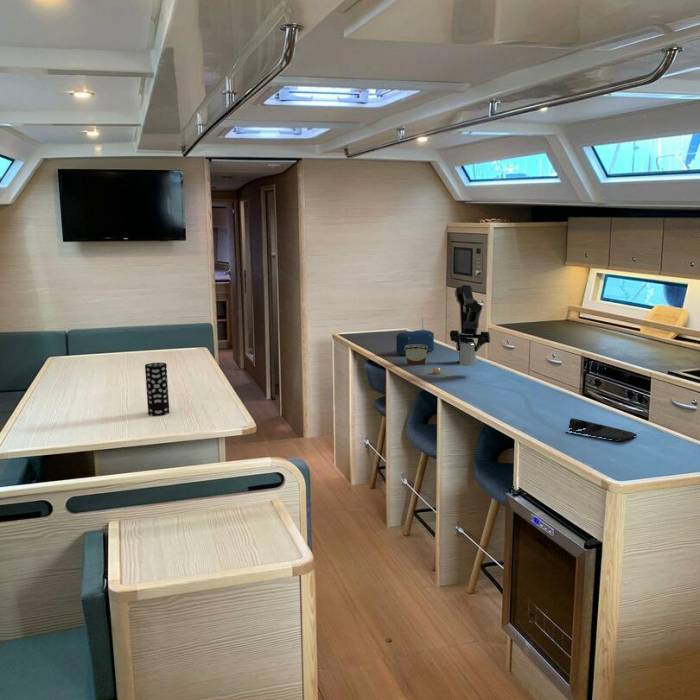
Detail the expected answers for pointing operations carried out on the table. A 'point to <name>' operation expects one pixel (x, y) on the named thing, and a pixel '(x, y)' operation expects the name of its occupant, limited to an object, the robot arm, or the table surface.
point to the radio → (414, 339)
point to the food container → (416, 354)
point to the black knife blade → (599, 430)
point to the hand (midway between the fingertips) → (467, 351)
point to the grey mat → (441, 375)
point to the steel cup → (467, 353)
